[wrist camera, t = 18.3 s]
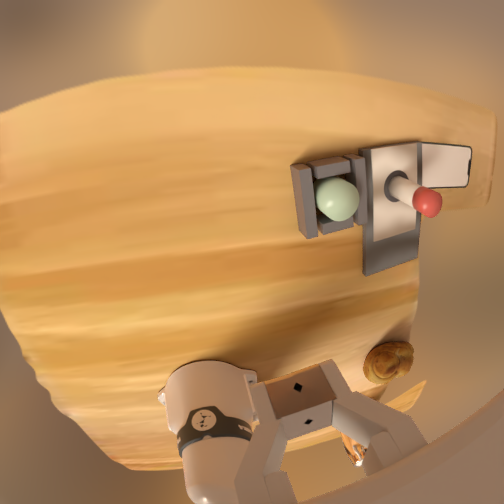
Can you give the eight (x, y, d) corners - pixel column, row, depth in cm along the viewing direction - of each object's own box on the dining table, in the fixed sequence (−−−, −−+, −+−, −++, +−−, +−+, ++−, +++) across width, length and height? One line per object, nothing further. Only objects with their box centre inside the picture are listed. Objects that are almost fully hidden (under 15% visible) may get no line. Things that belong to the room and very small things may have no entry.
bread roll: (412, 332, 59) (432, 355, 52) (397, 362, 63) (414, 385, 56) (367, 341, 56) (387, 368, 49) (353, 373, 60) (369, 400, 53)
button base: (356, 214, 42) (367, 222, 39) (299, 230, 41) (307, 239, 38) (352, 153, 37) (364, 157, 35) (290, 165, 36) (298, 170, 34)
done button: (345, 205, 40) (360, 216, 37) (312, 214, 40) (325, 225, 36) (342, 171, 38) (358, 178, 34) (308, 178, 37) (321, 186, 34)
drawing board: (413, 255, 48) (418, 258, 47) (362, 273, 47) (366, 277, 46) (417, 141, 38) (423, 142, 37) (358, 149, 37) (363, 150, 36)
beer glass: (360, 408, 69) (384, 451, 56) (345, 423, 72) (366, 465, 59) (342, 409, 67) (366, 455, 54) (326, 424, 69) (347, 469, 56)
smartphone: (406, 189, 42) (466, 186, 45) (408, 190, 42) (467, 187, 45) (410, 140, 39) (470, 145, 41) (412, 140, 38) (472, 146, 41)
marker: (405, 195, 41) (441, 214, 34) (388, 199, 40) (423, 220, 33) (405, 173, 39) (442, 190, 32) (387, 177, 39) (424, 194, 32)
